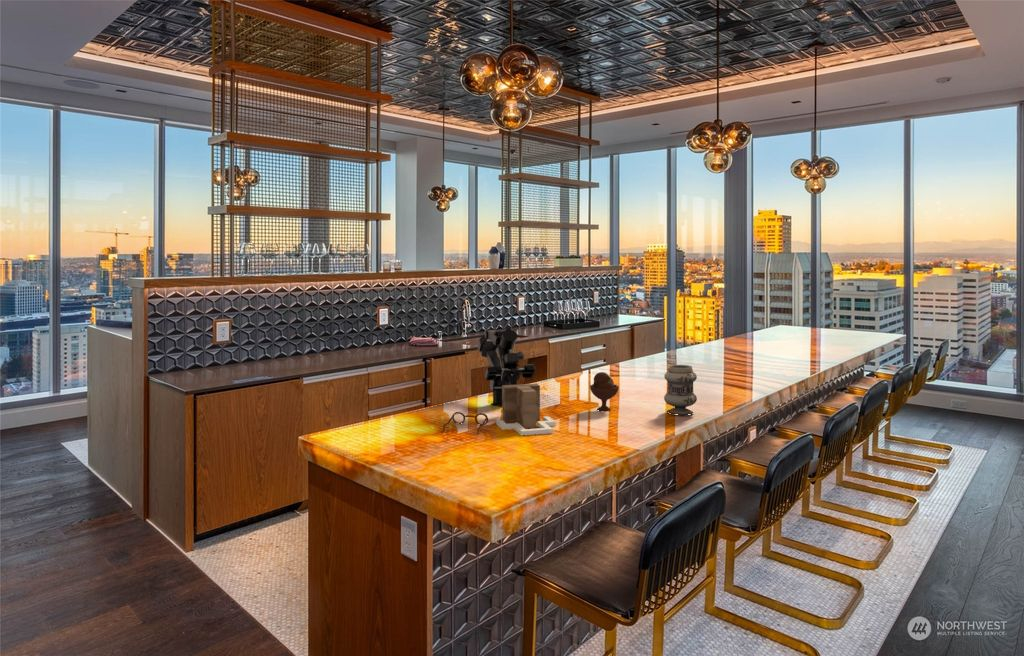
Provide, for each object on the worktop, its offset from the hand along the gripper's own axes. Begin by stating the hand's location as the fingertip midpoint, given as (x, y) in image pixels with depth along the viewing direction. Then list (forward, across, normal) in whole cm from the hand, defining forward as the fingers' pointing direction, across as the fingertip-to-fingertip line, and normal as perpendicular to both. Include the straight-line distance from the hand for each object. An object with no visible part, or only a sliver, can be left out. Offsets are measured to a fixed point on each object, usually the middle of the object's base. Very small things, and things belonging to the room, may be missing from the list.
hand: (514, 390), depth 243 cm
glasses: (+17, -22, -3) cm, 28 cm away
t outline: (+20, 0, -7) cm, 21 cm away
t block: (+16, 0, -2) cm, 16 cm away
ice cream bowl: (+8, +35, +6) cm, 37 cm away
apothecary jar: (+17, +61, -3) cm, 63 cm away
